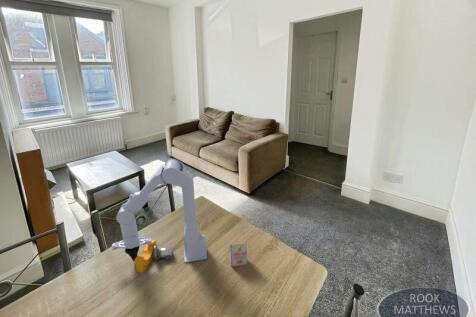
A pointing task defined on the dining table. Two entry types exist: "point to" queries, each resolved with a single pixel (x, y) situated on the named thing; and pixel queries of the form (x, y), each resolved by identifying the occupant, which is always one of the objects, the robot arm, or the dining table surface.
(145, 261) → the pipe clamp
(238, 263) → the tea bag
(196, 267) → the dining table surface
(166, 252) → the pipe fixture
